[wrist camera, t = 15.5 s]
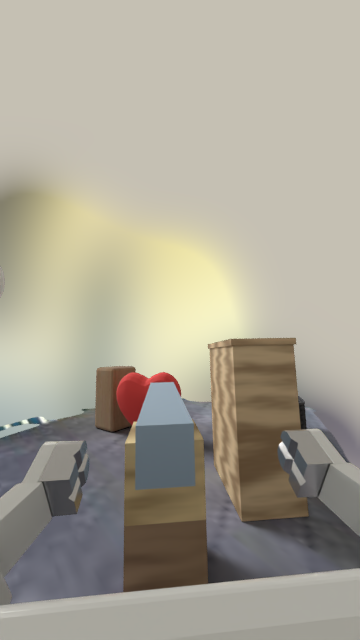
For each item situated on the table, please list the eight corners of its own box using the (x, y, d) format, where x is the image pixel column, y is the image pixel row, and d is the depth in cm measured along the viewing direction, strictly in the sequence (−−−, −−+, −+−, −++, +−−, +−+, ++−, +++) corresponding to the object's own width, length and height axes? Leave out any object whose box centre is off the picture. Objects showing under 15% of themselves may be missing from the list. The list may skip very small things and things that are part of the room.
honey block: (206, 519, 24) (203, 439, 25) (124, 526, 23) (125, 443, 24) (194, 478, 32) (193, 419, 33) (133, 482, 31) (133, 421, 32)
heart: (185, 436, 70) (184, 371, 73) (177, 447, 62) (175, 373, 65) (124, 432, 75) (125, 371, 78) (109, 441, 67) (110, 373, 70)
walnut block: (208, 607, 23) (206, 519, 24) (123, 616, 22) (124, 525, 23) (196, 542, 31) (194, 478, 32) (132, 547, 30) (133, 482, 31)
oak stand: (311, 517, 35) (295, 337, 38) (240, 523, 34) (230, 338, 38) (259, 461, 53) (252, 343, 57) (212, 464, 52) (207, 344, 56)
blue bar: (195, 485, 16) (193, 423, 17) (135, 490, 16) (135, 426, 16) (173, 405, 42) (173, 382, 42) (150, 406, 41) (150, 382, 42)
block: (93, 427, 80) (95, 367, 83) (117, 421, 88) (118, 366, 91) (112, 433, 74) (113, 367, 77) (136, 425, 82) (136, 366, 85)
